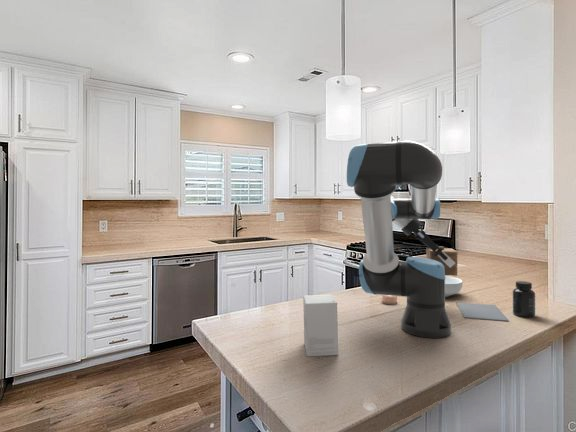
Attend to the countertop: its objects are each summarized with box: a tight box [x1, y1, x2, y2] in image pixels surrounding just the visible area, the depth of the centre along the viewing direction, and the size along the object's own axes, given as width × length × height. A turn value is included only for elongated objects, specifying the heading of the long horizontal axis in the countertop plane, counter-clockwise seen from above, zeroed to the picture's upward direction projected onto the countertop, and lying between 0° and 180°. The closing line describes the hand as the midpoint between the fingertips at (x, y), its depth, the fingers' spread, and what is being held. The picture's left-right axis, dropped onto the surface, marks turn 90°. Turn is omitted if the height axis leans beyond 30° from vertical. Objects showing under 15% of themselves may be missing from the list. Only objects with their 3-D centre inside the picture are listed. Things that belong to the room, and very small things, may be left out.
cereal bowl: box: [445, 275, 463, 298], centre depth 153 cm, size 17×17×7 cm
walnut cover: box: [425, 245, 458, 277], centre depth 134 cm, size 10×10×10 cm
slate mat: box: [455, 302, 510, 322], centre depth 128 cm, size 18×14×1 cm
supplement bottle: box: [512, 280, 536, 319], centre depth 124 cm, size 7×7×12 cm
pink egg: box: [381, 295, 398, 305], centre depth 142 cm, size 6×6×3 cm
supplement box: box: [302, 294, 339, 357], centre depth 98 cm, size 9×9×15 cm
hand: (449, 263), depth 133 cm, fingers closed on walnut cover, 10 cm apart
